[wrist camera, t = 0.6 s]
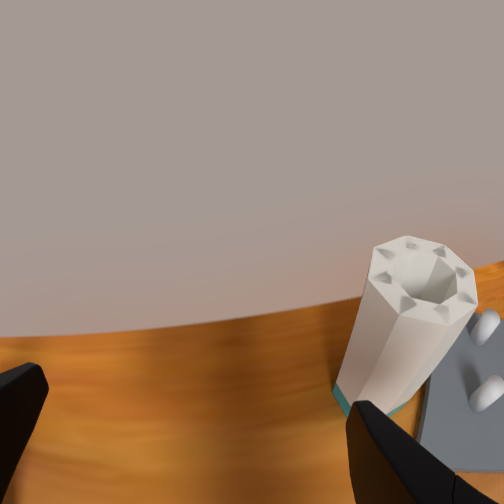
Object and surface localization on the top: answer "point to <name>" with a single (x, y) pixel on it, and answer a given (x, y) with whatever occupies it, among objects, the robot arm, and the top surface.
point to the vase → (404, 322)
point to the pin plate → (468, 400)
